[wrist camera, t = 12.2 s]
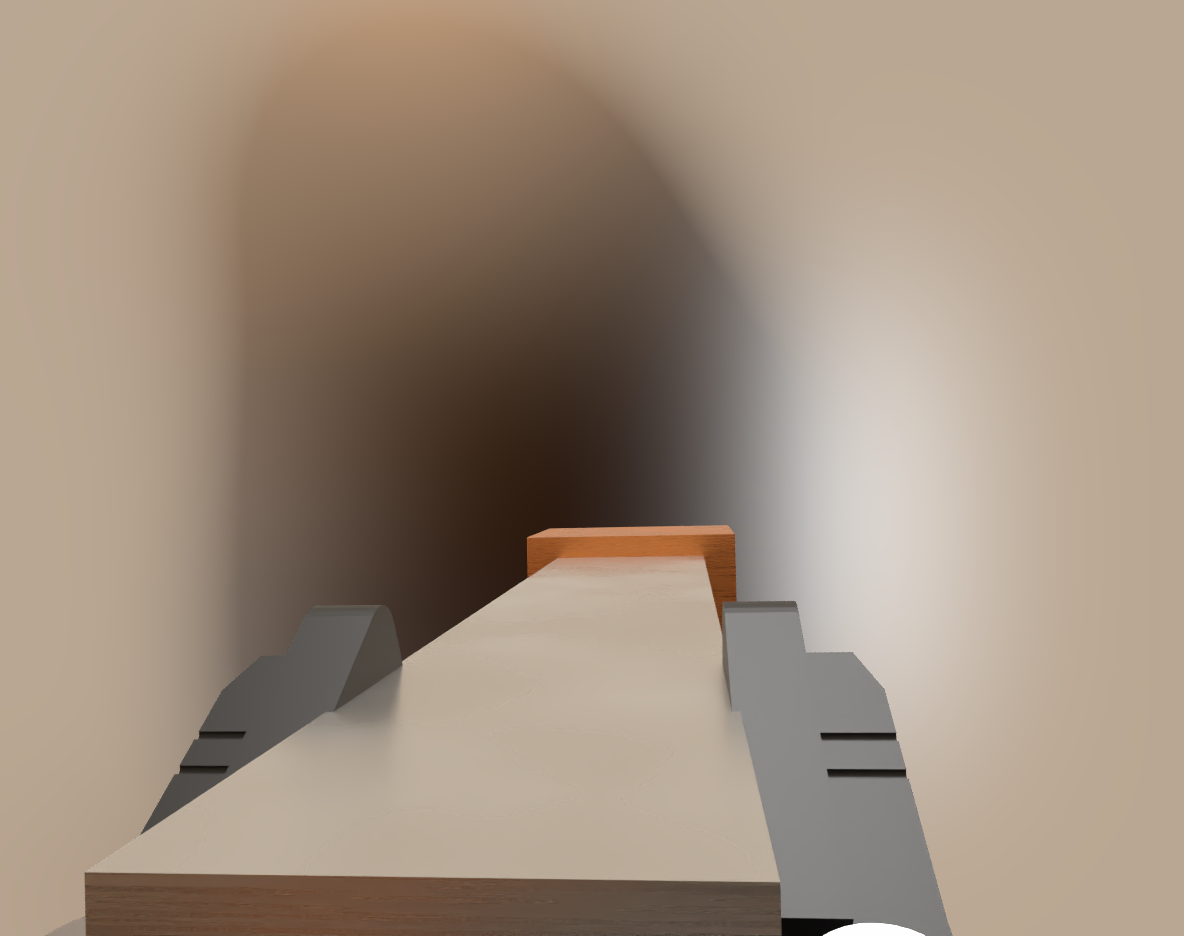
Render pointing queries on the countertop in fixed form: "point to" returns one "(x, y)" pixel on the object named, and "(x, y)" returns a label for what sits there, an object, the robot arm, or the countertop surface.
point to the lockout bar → (496, 778)
